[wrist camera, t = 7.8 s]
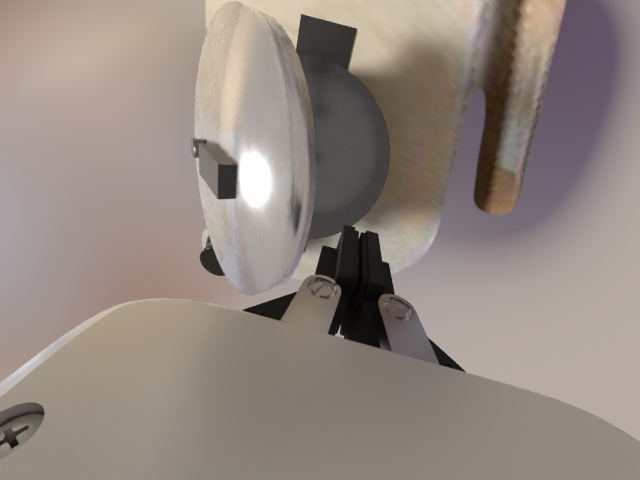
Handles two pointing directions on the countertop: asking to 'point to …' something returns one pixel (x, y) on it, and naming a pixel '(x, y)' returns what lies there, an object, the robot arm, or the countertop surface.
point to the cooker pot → (341, 129)
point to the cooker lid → (254, 148)
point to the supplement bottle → (210, 259)
